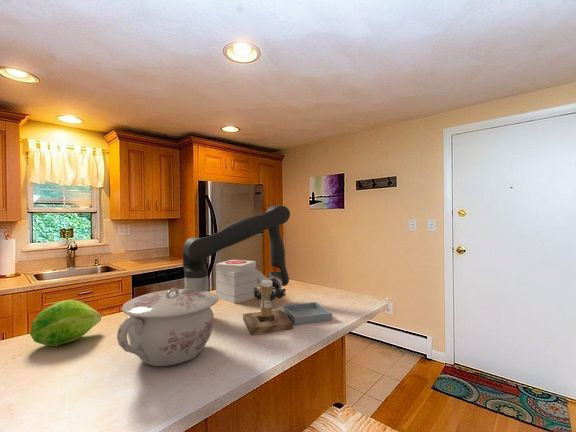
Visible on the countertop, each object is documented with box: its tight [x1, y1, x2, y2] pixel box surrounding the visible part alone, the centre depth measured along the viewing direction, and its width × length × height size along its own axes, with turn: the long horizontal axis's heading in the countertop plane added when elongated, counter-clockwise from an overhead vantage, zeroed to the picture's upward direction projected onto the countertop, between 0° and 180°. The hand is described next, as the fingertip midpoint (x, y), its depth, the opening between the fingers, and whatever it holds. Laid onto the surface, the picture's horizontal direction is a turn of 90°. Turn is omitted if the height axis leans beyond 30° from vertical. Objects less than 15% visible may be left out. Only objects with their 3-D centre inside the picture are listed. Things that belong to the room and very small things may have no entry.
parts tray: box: [281, 301, 333, 326], centre depth 126 cm, size 16×16×3 cm
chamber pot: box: [116, 286, 219, 367], centre depth 91 cm, size 28×28×21 cm
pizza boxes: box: [215, 259, 268, 305], centre depth 158 cm, size 19×30×18 cm, turn 139°
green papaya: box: [29, 299, 102, 347], centre depth 102 cm, size 15×20×14 cm
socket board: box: [242, 309, 294, 336], centre depth 116 cm, size 16×16×2 cm
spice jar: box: [260, 280, 273, 317], centre depth 116 cm, size 5×5×13 cm
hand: (265, 297), depth 114 cm, fingers closed on spice jar, 4 cm apart
